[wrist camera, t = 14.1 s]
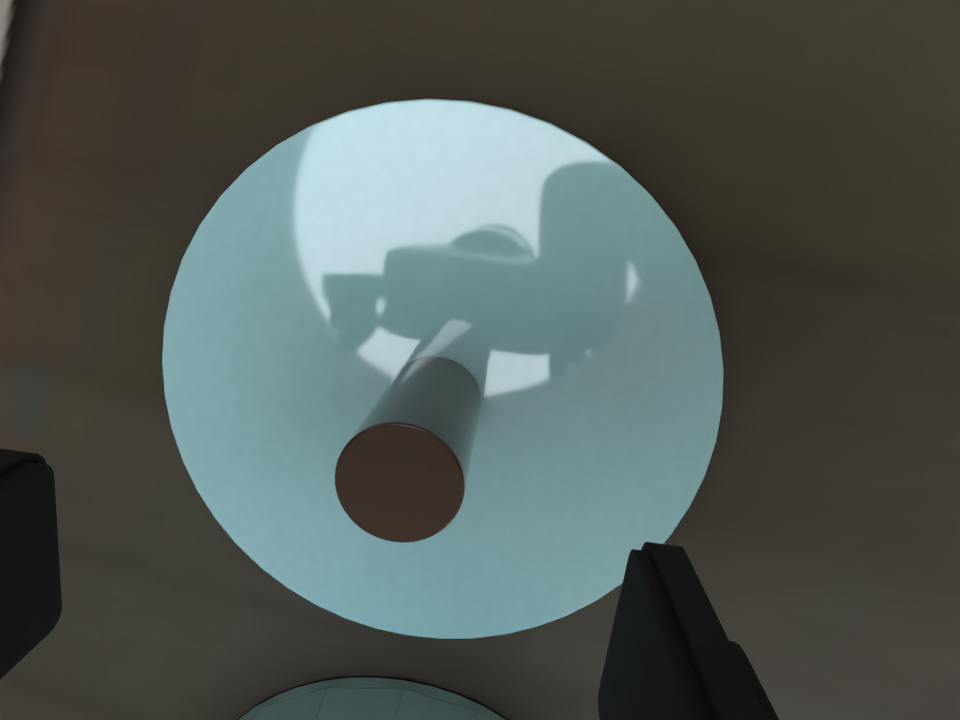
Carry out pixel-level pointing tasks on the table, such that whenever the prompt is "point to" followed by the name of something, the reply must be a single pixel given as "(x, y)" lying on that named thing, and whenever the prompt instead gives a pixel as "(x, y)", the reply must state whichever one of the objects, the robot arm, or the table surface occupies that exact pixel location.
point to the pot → (369, 702)
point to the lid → (442, 368)
